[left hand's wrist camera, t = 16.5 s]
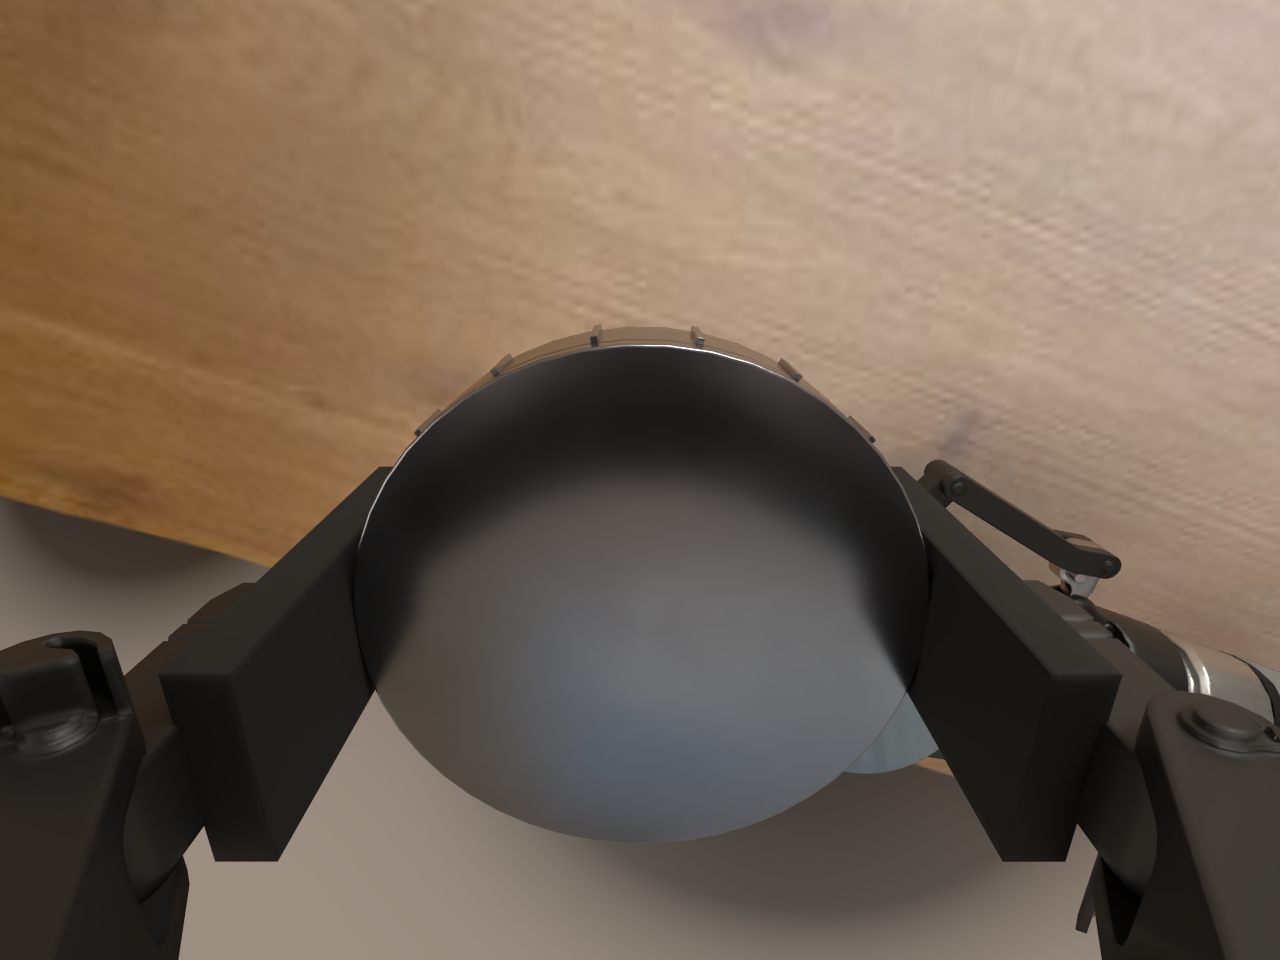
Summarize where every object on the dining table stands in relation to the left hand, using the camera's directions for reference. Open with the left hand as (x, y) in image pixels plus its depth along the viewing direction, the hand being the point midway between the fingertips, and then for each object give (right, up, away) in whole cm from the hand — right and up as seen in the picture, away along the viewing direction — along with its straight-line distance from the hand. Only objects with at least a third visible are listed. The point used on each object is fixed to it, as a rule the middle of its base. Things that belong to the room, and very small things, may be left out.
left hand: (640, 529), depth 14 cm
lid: (0, -1, -3) cm, 3 cm away
